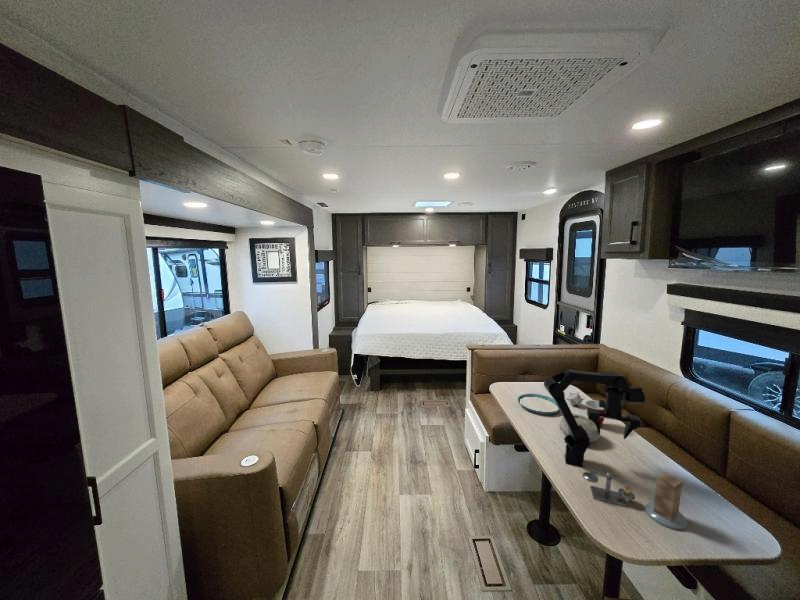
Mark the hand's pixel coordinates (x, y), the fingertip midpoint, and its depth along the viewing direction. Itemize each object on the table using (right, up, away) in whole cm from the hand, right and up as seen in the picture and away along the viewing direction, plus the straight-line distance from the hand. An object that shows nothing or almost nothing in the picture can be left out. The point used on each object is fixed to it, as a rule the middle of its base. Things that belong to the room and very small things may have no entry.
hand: (611, 436), depth 134 cm
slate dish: (+1, -16, -26) cm, 31 cm away
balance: (-14, -15, -17) cm, 27 cm away
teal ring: (-7, -7, +56) cm, 57 cm away
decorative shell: (-1, -11, +23) cm, 25 cm away
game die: (+16, -7, +57) cm, 60 cm away
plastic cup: (+14, -9, +35) cm, 39 cm away
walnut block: (+1, -15, -26) cm, 31 cm away
